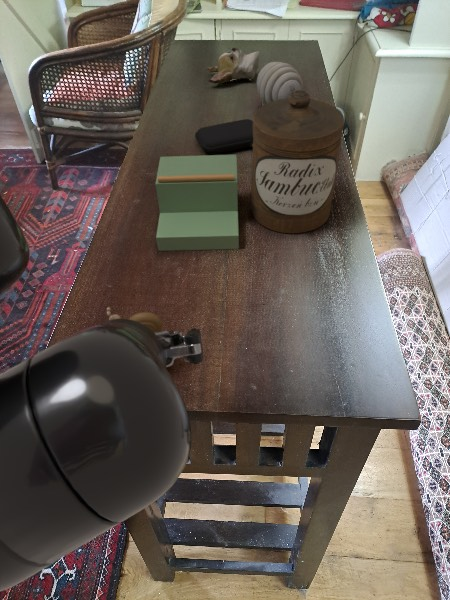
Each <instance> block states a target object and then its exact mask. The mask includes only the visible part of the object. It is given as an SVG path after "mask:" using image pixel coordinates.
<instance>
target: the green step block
mask: <svg viewBox="0 0 450 600" xmlns="http://www.w3.org/2000/svg"><path fill="white" fill-rule="evenodd" d="M237 159H238V158H237V154H207V155H206V154H205V155H180V156H179V155H178V156H177V155H175V156H174V155H173V156H172V155H171V156H160V157H159V162H158V168H157V173H156V177H155V178H156V179H155V191H156V196H157V202H158V208H159V217H158V224H157V229H156V236H155V240H156V245H157V246H156V247H157V250H158V251H159V252H160V251H161V252H165V251H166V252H167V251H168V252H169V251H207V250H208V251H210V250H239V249H240V243H239V242H240V239H239V238H240V237H239V236H240V235H239V234H240V233H239V232H240V231H239V211H238V210H239V202H238V201H239V200H238V199H239V197H238V191H239V190H238V189H239V188H238V160H237Z"/></svg>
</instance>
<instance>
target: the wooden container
mask: <svg viewBox="0 0 450 600" xmlns="http://www.w3.org/2000/svg"><path fill="white" fill-rule="evenodd" d="M252 117H253V118H252V121H253V147H252V162H251V163H252V164H251V190H250V191H251V192H250V193H251V195H250V196H251V197H250V202H251V203H250V205H251V207H250V209H251V214H252V216H253V218H254V219H255V220H256V222H257V223H258V224H260V225H261V226H262V227H264V228H266V229H268V230H270V231H274V232H278V233H283V234H303V233H308V232H311V231H313V230H314V231H315V230H316V229H318V228H320V227H321V226H323V225H324V224H325V223H326V222H327V221H328V219H329V218H330V214H331V209H332V202H333V198H334V193H335V186H336V181H337V173H338V165H339V158H340V152H341V145H342V143H341V142H342V137H343V130H344V123H345V118H344V115H343V112H341V110H339V109H338V108H337V107H336V106H334V105H332V104H330V103H328V102H325V101H323V100H319V99H313V98H311V94H309V92H307V91H304V90H302V91H301V90H297V91H295V92H294V93H292V94H291V95H290V96H289V98H286V99H280V100H276V101H272V102H270V103H267V104H265V105H263V106H262V105H261V106H260V107H259V108H257V109H256V111H255V112H254V114H253V116H252Z"/></svg>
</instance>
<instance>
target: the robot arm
mask: <svg viewBox="0 0 450 600" xmlns="http://www.w3.org/2000/svg"><path fill="white" fill-rule="evenodd" d="M30 254H31V251H30V246H29V243H28V240H27V238H26V235H25V234H24V231H23V229H22V228H21V226H20V224H19V222H18V221H17V219H16V216H14V214H13V212H12V210H11V209H10V208H9V206H8V204H7V203H6V201H5V200H4V198H3V196H2V195H1V194H0V297H1V296H2V295H4V293H6V292H7V291H8V290H10V288H12V286H14V284H16V282H17V281H18V280H19V279H20V278H21V277H22V276H23V274H24V273H25V272H26V270H27V268H28V266H29V262H30V260H31V259H30V257H31V255H30ZM183 357H184V362H185V363H189V364H193V365H199V364H200V363H202V362H204V348H203V342H202V335H201V329H200V328H196V327H195V328H190V330H187V332H186V334H184V335H183V331H181V330H180V331H179V330H175V329H173V330H161V331H157V332H153V331H152V330H150V329H149V328H148V327H146V326H145V325H143V324H141V323H139V322H137V321H133V320H129V318H121V319H112V320H109V319H108V320H105V321H102V322H100V323H98V324H94V325H91V326H89V327H86V328H84V329H81V330H79V331H77V332H74V333H73V334H71V335H68V336H67V337H65V338H63V339H61V340H59V341H58V342H56V343H53V344H52V345H50V346H49V347H46V348H45V349H43V350H41V351H39V352H37V353H36V354H35V355H32V356H31V357H29V358H27V359H25V360H24V361H22V362H20V363H18V364H16V365H14V366H12V367H10V368H9V369H7V370H5V371H4V372H1V373H0V592H3V591H5V590H8V589H11V588H13V587H15V586H17V585H19V584H20V583H22V582H24V581H26V580H27V579H29V578H31V577H33V576H34V575H36V574H38V573H39V572H41V571H42V570H44V569H46V568H47V567H49V566H51V565H53V564H55V563H56V562H57V561H59V560H60V559H62V558H64V557H65V556H67V555H69V554H70V553H72V552H73V551H75V550H77V549H78V548H80V547H82V546H84V545H85V544H87V543H89V542H91V541H92V540H94V539H96V538H98V537H99V536H101V535H103V534H104V533H106V532H108V531H110V529H111V530H112V529H113V528H114V527H116V526H118V525H119V524H120V523H122V522H124V521H126V520H128V519H129V518H131V517H133V516H135V515H137V514H138V513H139V512H141V511H143V510H144V509H146V508H148V507H150V506H151V505H152V504H154V503H155V502H156V501H158V500H159V499H161V497H163V496H164V495H165V494H166V493H167V492H168V491H169V490H170V489H171V488H172V487H173V485H174V484H175V483H176V482H177V480H178V479H179V478H180V476H181V474H182V473H183V471H184V470H185V468H186V466H187V462H188V460H189V457H190V455H191V449H192V427H191V422H190V416H189V412H188V409H187V406H186V403H185V401H184V398H183V395H182V394H181V393H182V392H181V391H180V389H179V387H178V386H177V384H176V382H175V380H174V378H173V376H172V375H171V374H170V372H169V371H168V369H167V368H169V367H172V366H173V365H174V362H175V360H176V359H181V358H183Z"/></svg>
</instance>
